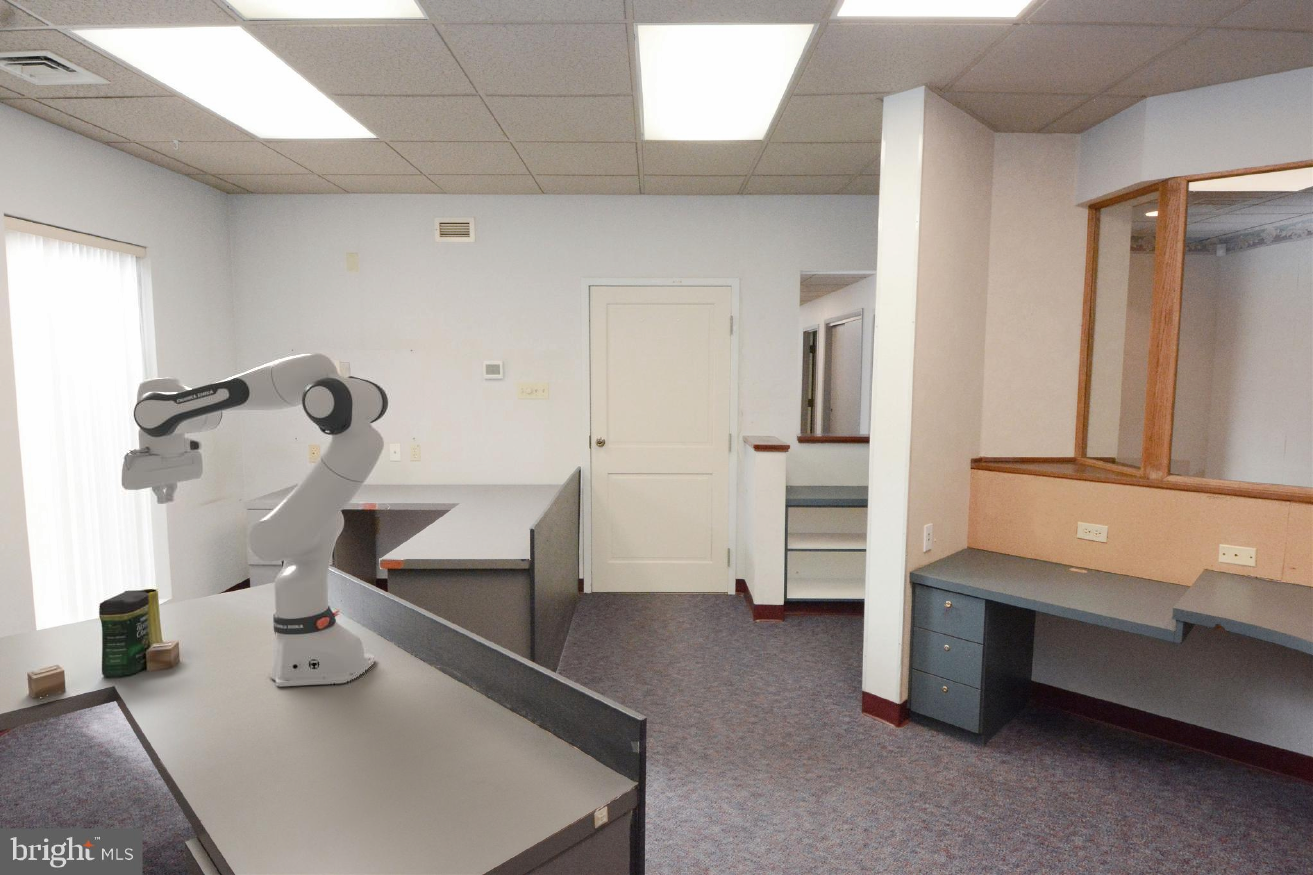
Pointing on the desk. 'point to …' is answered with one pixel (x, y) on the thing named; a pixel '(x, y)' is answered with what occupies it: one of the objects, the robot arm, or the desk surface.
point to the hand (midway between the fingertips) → (165, 502)
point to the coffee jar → (124, 633)
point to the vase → (154, 617)
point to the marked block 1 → (46, 681)
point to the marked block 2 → (162, 656)
